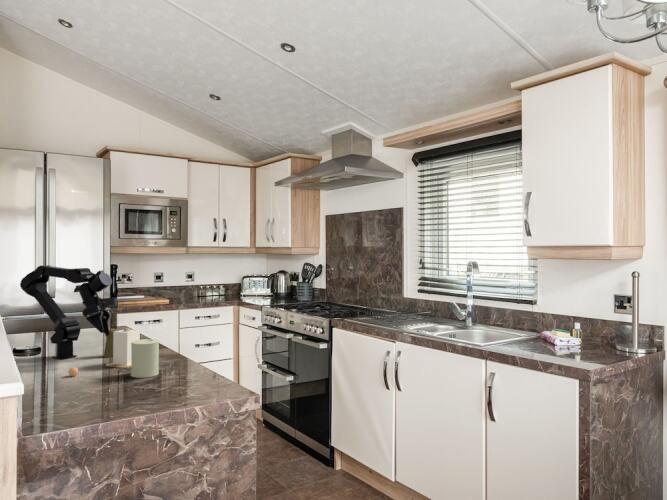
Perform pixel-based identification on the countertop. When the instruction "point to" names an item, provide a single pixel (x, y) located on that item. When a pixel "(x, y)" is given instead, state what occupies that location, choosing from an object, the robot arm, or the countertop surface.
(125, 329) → the knobbed white block
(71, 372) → the ball
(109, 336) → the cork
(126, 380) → the countertop surface
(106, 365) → the coaster
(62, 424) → the countertop surface
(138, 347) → the can
